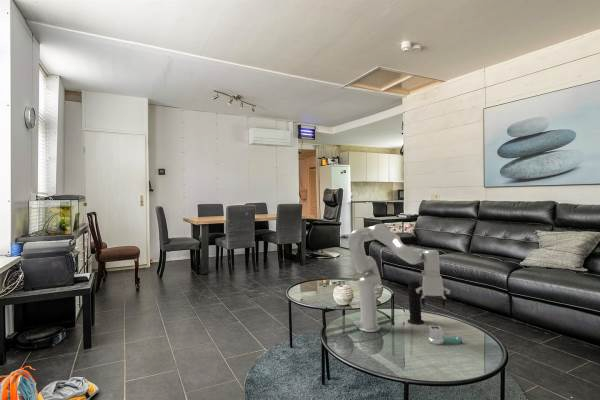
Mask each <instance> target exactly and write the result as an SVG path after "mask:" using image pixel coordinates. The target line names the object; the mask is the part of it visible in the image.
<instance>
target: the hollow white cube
mask: <svg viewBox="0 0 600 400" xmlns="http://www.w3.org/2000/svg"><path fill="white" fill-rule="evenodd" d="M433 328H437V329H433ZM428 335H429V336H430V339H439V340H443V338H442V336H443V329H442V327H441V325H428Z"/></svg>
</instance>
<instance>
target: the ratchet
mask: <svg viewBox="0 0 600 400" xmlns="http://www.w3.org/2000/svg"><path fill="white" fill-rule="evenodd" d="M433 329H437V328H433ZM442 338H443V340H439V339H430V336H429V334H428V335H427V342H428V344H430V345H434V346H442V345H444V344H447V345H448V344H449V345H451V344H452V345H460V344H463V339H462V337H461V336H445V335H444V336H443V335H442Z"/></svg>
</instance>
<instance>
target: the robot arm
mask: <svg viewBox="0 0 600 400" xmlns="http://www.w3.org/2000/svg"><path fill="white" fill-rule="evenodd" d="M374 240H377V241H379V242H380V243H382V244H384V245H385V246H386V247H388V248H389V249H391V251H392V252H393V253H394V255H396V256H397V257H398V258H400V259H402V261H405V262H406V263H407V264H410V265H417V264H419V263H422V262H423V264H424V265H423V267H424V268H423V270H421V274H422V275H423V277H422V285H421V286H419V288H417V289H416V292H417V294H418V295H419V296H420V303H421V305H422V306H423V307H425V306H426V301H425V297H426V296H429V297H430V296H431V297H441V306H442V307H445V306H446V299H447V298H448V297H450V296H449V295H450V293H451V290H450V289H448V288H446V287H444V282H443V277H442V276H441V274H440V273H441V270H440V253H439V251H438V250H437V249H436V250H435V249H424V248H420V247H418V248H415V249H412V248H410V247H409V246H407V245H405V243H403V242H402V240H401V237H400V236H399V235H398V234H397V233H395V232H394V231H391V228H390V226H389V225H387V224H386V223H377V224H374V225H372V226H367V227H362V228H361V227H360V228H357V229H354V230H353V231H351V232H350V233H349V235H348V238H347V245H348V248H349V251H350V254H351V258H352V262H353V265H354V269H355V270H356V272H357V273H358V274H359V275H360V274H364V275H362V276H361V277H360V278H359V279H358V281H357V289H358V292H359V293H358V294H359V307H360V319H359V320H353V324H354V325H355V326H358V329H359V330H360V331H362V332H366V333H374V332H378V331H380V330H381V326H380V325H379V324H378V314H377V313H378V311H377V310H378V309H377V298H376V293H375V289H377V288H379V287H380V285H381V283H382V278H381V275H380V271H379V268H378V264H377V262H376V260H375V258H373V256H370V255H367V254H366V250H365V247H364V246H363V245H362V243H365V242H370V241H374ZM419 291H422V293H421V292H420V293H419ZM444 291H445V292H446V293H445V292H444Z"/></svg>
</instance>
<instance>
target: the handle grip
mask: <svg viewBox="0 0 600 400" xmlns="http://www.w3.org/2000/svg"><path fill="white" fill-rule="evenodd" d="M407 282H408V283H407V286H408V287H407V288H408V292H407V293H408V304H409V305H408V306H409V307H408V309H409V319H408V320H407V323H408V324H411V325H415V326H416V325H417V326H419V325H423V324H425V321H424V320H423V319H422V303H421V297H420V296H419V295H418V294H417V292H416V289H417V288H419V287H421V286H420V280H418V279H415V278H414V279H413V278H412V279H408V280H407ZM420 291H421V290H420ZM420 291H419V293H420V294H421V292H420Z"/></svg>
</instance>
